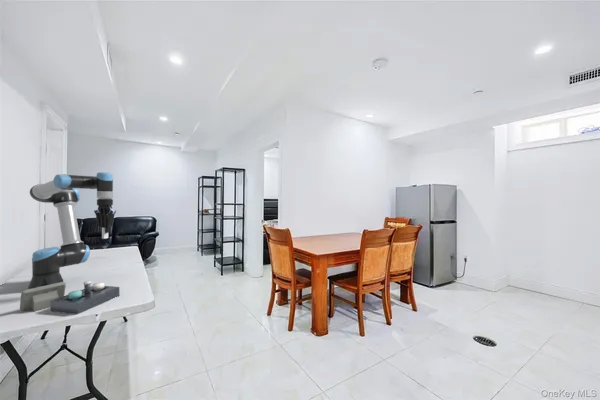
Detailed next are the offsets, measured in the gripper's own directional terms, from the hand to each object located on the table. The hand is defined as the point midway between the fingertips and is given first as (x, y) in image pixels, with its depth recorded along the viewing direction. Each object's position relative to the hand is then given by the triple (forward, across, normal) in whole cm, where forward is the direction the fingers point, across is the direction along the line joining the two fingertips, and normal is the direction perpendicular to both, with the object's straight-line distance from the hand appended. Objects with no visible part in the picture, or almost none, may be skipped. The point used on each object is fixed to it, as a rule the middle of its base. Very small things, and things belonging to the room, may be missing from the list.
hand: (105, 238), depth 149 cm
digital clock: (+31, -8, -25) cm, 41 cm away
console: (+30, +9, -18) cm, 36 cm away
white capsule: (+25, +9, -18) cm, 32 cm away
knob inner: (+30, +9, -12) cm, 33 cm away
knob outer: (+30, +9, -24) cm, 39 cm away
